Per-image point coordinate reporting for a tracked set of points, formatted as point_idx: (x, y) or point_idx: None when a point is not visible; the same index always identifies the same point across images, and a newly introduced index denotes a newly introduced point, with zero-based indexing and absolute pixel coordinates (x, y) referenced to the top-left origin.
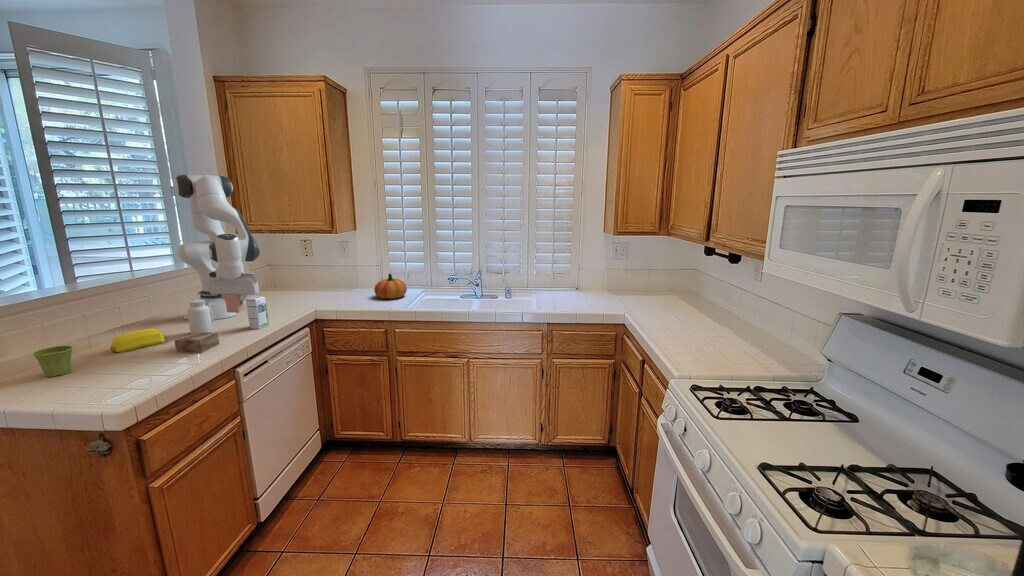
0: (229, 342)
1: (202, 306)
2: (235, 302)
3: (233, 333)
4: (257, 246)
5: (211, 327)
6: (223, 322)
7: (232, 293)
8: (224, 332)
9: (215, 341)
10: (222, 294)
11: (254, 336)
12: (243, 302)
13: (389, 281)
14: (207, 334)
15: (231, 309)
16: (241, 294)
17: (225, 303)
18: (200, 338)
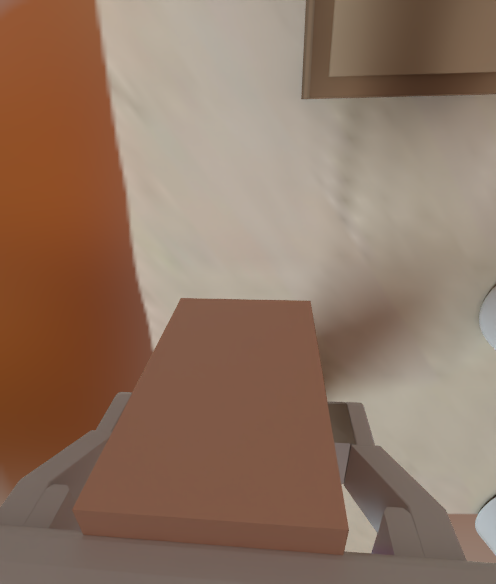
0: (256, 142)
1: None
2: (166, 379)
3: (337, 303)
4: None
5: (491, 338)
6: (485, 447)
7: (184, 557)
8: (399, 317)
9: (305, 55)
10: (440, 553)
11: (182, 259)
12: (107, 410)
13: None
14: (363, 6)
15: (254, 319)
16: (13, 527)
17: (361, 404)
18: None
